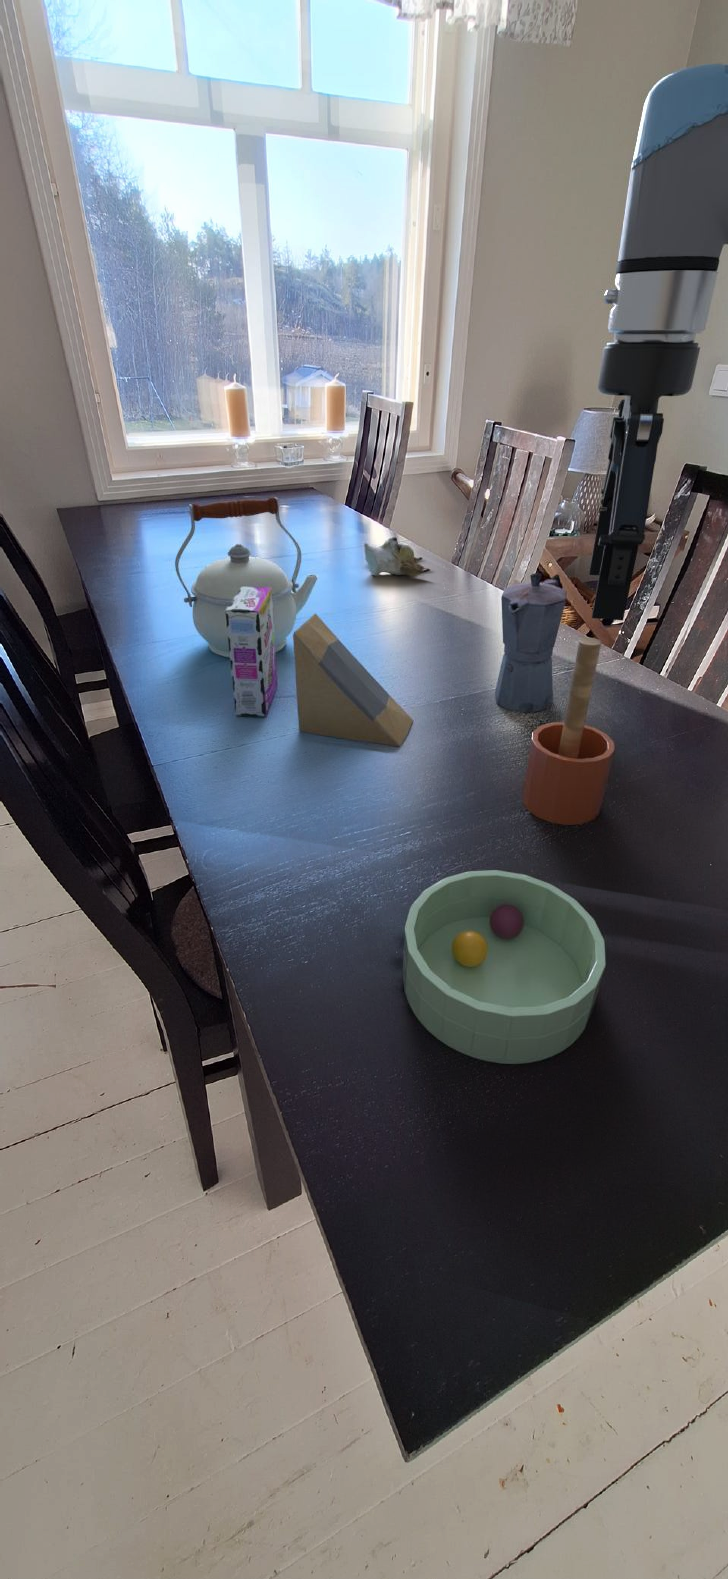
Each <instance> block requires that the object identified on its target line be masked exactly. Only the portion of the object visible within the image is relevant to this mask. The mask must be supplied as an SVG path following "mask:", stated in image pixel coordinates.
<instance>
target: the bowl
mask: <svg viewBox="0 0 728 1579" xmlns="http://www.w3.org/2000/svg"><path fill="white" fill-rule="evenodd" d="M505 904H507V905H512V906H514V907H516V908H517V909H519V911H520V912H521V913H522V915H523V918H524V927H523V929H522V931H521V933H520V934H519V935H518V936H516V937H514V938H511V939H503V938H500V937H499V936H497V935H496V934H495V933H494V932H493V931H492V929H491V927H490V922H489V920H490V915H491V913H492V911H493V910H494V909H495V908H496V907H498V906H500V905H505ZM464 931H475V932H477V933H479V934H480V935H481V936H482V937H483V938H484V939H485V941H486V943H487V948H488V951H487V956H486V958H485V960H484V961H483V962H482V963H481V964H479V965H477V966H474V967H466V966H463V965H461V964H460V963H458V962H457V961H456V959H455V958H454V956H453V953H452V943H453V940H454V939H455V937H456V936H457V935H458V934H460V933H461V932H464ZM402 952H403V954H402V970H401V972H402V978H403V979H402V980H403V983H402V984H403V989H404V994H405V996H406V1000H407V1002H408V1003H407V1004H409V1005H408V1006H409V1007H410V1008H411V1010H412V1012H413V1014H414V1016H415V1017H416V1019H417V1020H418V1021H419V1023H420V1024H421V1025H422V1026H423V1027H424V1028H425V1029H426V1031H427V1032H429V1033H430V1034H432V1036H434V1037H435V1038H436V1039H437V1040H439V1041H440V1042H441V1043H443V1044H445V1045H446V1046H447V1047H449V1048H451V1049H453V1050H455V1051H457V1052H458V1053H461V1054H463V1055H466V1056H468V1057H470V1058H472V1059H477V1060H481V1061H485V1062H490V1063H496V1064H507V1065H519V1064H530V1063H534V1062H540V1061H542V1060H546V1059H549V1058H552V1057H554V1056H555V1055H558V1054H560V1053H561V1052H563V1051H565V1050H566V1049H567V1048H570V1046H572V1045H573V1044H574V1043H575V1042H576V1041H577V1040H578V1039H579V1038H580V1037H581V1035H582V1034H583V1032H584V1031H585V1030H586V1027H587V1025H588V1022H589V1020H590V1018H591V1015H592V1013H593V1011H594V1008H595V1004H596V1000H597V996H598V994H599V990H600V986H601V984H602V980H603V977H604V973H605V969H606V967H607V966H606V965H607V962H606V942H605V939H604V937H603V935H602V933H601V931H600V929H599V927H598V924H597V923H596V920H595V919H594V918H593V917H592V915H590V914H589V912H588V911H587V910H586V909H585V907H583V906H582V905H581V904H580V903H579V902H578V900H576V899H575V898H573V897H572V896H570V895H569V894H567V892H564V891H562V890H561V889H560V888H558V887H556V886H555V885H553V884H551V883H548V882H546V881H543V880H541V879H539V878H535V877H532V876H529V875H527V874H523V873H517V872H510V871H504V870H497V869H491V870H490V869H487V870H469V871H464V872H462V873H458V874H454V875H451V876H447V877H445V878H442V879H440V880H439V881H438V882H435V883H433V885H431V886H429V887H427V888H426V889H424V890H423V891H422V892H421V893H420V895H419V896H418V897H417V899H416V900H415V901H413V903H412V905H411V906H410V907H409V910H408V915H407V918H406V922H405V924H404V934H403V951H402Z"/></svg>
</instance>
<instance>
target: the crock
mask: <svg viewBox="0 0 728 1579" xmlns="http://www.w3.org/2000/svg"><path fill="white" fill-rule="evenodd" d="M563 725H564V721H557V722H548V723H546V724H542V725H539V726H538V727H537V728H535V729H534V730H533V731H532V733H531V737H530V738H531V739H530V745H529V751H528V757H527V762H526V763H527V764H526V770H525V776H524V782H523V787H522V788H523V789H522V796H521V802H522V804H523V805H524V807H525V809H526V810H527V811H528V812H530V813H531V814H532V815H533V816H535V817H537V818H539V819H541V820H544V821H546V822H549V823H551V824H558V825H565V826H573V825H574V826H575V825H583V824H586V823H588V822H590V821H593V820H595V819H596V817H597V816H598V815H599V814H600V812H601V808H602V804H603V800H604V796H605V792H606V787H607V783H608V779H609V775H610V772H611V767H612V762H613V758H614V754H615V742H614V740H613V739H612V738H611V737H610V736H609V735H608V734H607V733H605V732H603V731H601V730H600V729H598V728H597V727H593V726H590V725H587V724H585V725H584V730H583V734H582V739H581V744H580V749H579V754H578V759H576V758H568V757H563V756H560V755H558V752H559V747H560V741H561V736H562V730H563Z"/></svg>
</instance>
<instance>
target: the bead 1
mask: <svg viewBox="0 0 728 1579" xmlns="http://www.w3.org/2000/svg"><path fill="white" fill-rule="evenodd" d="M487 951H488V948H487V943H486V941H485V939H484V938H483V937H482V936H481V935H480V934H479V933H477V932H475V931H464V932H461V933H460V934H458V935H457V936H456V937H455V939H454V940H453V943H452V953H453V956H454V958H455V959H456V961H457V962H458V963H460V964H461V965H463V966H466V967H474V966H477V965H479V964H481V963H482V962H483V961H484V960H485V958H486V956H487Z"/></svg>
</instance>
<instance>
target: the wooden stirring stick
mask: <svg viewBox="0 0 728 1579" xmlns="http://www.w3.org/2000/svg"><path fill="white" fill-rule="evenodd" d="M601 647H602V641H601V640H600V639H597V638H594V637H582V638H580V639H579V640H578V645H577V652H576V656H575V661H574V667H573V672H572V678H571V682H570V687H569V694H568V699H567V705H566V710H565V715H564V721H563V722H564V725H563V730H562V736H561V741H560V747H559V752H558V755H560V756H563V757H568V758H576V759H578V754H579V749H580V744H581V739H582V734H583V730H584V725H586V724H585V723H586V720H587V714H588V710H589V706H590V700H591V694H592V691H593V685H594V681H595V675H596V670H597V667H598V662H599V657H600V652H601Z"/></svg>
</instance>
